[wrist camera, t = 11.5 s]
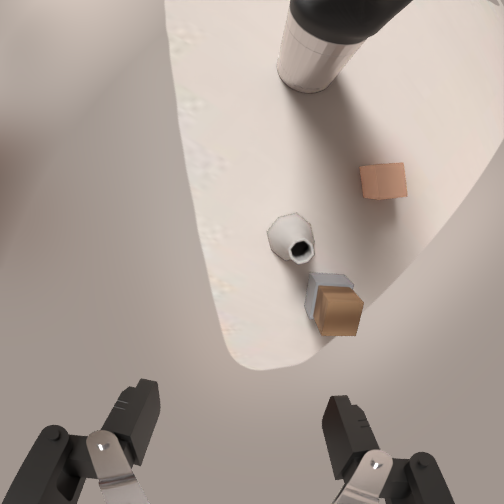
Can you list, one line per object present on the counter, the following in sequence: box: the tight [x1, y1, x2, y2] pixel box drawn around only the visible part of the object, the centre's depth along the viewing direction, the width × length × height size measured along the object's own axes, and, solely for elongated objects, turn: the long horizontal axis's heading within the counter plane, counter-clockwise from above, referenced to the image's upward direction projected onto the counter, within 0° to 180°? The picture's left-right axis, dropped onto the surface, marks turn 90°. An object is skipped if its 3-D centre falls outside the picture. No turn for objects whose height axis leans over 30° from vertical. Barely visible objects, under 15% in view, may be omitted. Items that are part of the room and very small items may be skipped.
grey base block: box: [304, 272, 354, 319], centre depth 43 cm, size 6×6×5 cm
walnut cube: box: [313, 285, 364, 336], centre depth 38 cm, size 5×5×6 cm
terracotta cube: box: [359, 163, 407, 200], centre depth 38 cm, size 5×5×6 cm
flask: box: [267, 213, 315, 265], centre depth 38 cm, size 7×7×10 cm
